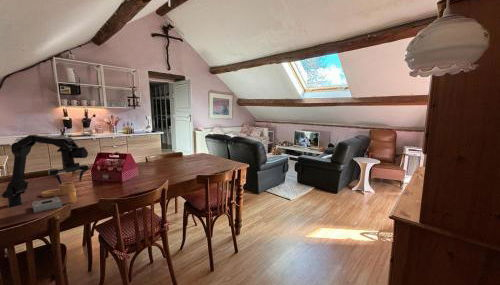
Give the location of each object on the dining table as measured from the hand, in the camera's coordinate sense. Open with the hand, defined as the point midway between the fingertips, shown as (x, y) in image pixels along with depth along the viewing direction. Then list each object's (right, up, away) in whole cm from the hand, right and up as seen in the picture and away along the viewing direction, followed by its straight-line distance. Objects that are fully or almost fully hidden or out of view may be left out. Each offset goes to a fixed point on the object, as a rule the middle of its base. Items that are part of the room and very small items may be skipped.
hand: (70, 183), depth 138 cm
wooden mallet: (-22, -11, +17) cm, 30 cm away
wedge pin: (0, -12, +2) cm, 12 cm away
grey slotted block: (-9, -13, -5) cm, 17 cm away
